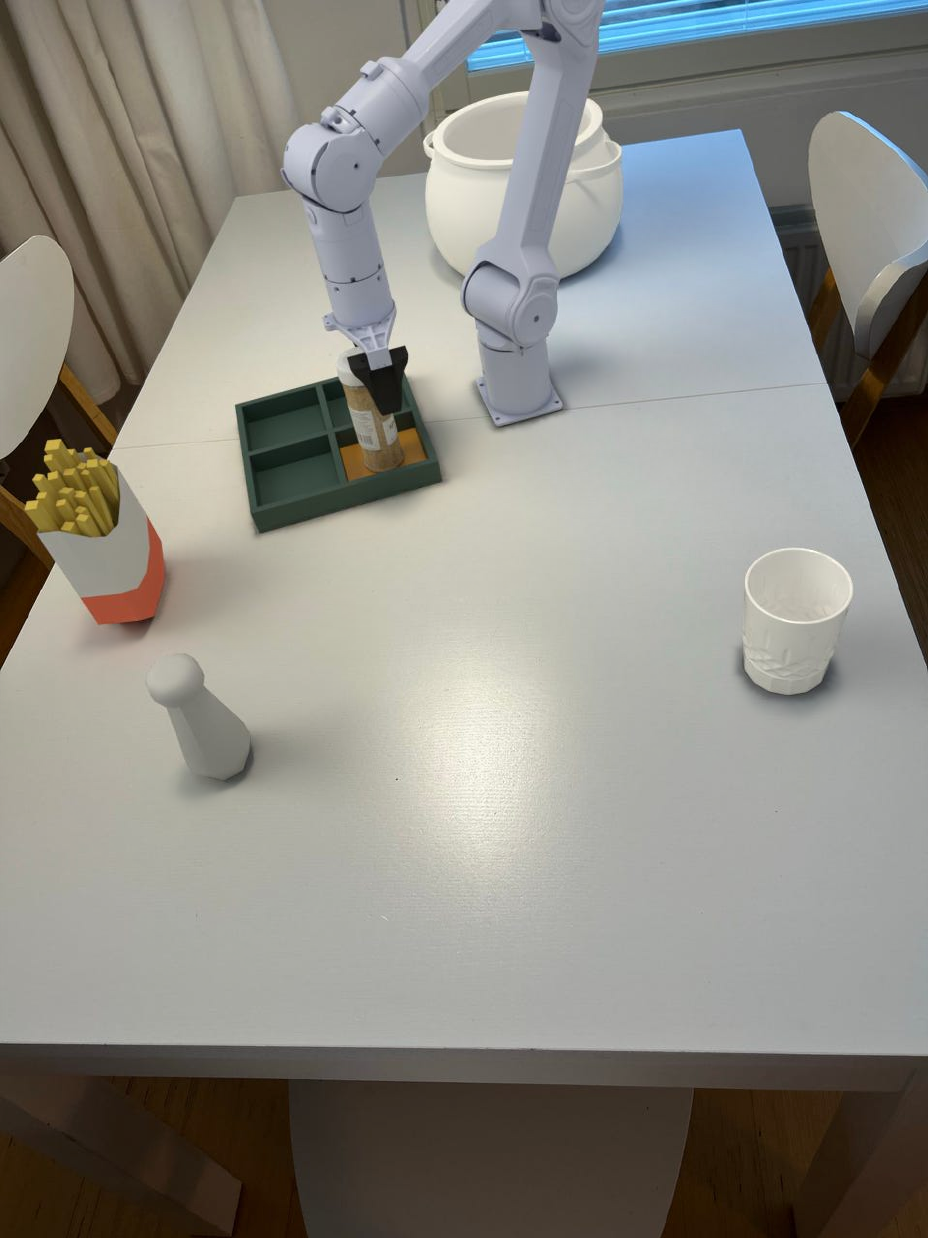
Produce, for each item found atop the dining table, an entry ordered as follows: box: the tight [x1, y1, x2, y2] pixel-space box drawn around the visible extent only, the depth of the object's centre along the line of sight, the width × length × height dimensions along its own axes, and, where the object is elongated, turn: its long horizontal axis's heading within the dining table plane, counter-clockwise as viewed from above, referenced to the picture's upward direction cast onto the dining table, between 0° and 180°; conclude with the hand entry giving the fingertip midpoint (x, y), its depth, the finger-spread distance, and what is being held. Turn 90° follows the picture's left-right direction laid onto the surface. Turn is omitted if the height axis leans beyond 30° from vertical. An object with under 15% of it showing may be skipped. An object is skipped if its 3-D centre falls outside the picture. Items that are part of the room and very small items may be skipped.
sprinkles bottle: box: [335, 346, 404, 473], centre depth 99 cm, size 5×5×14 cm
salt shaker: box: [144, 652, 252, 782], centre depth 77 cm, size 6×6×13 cm
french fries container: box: [24, 438, 166, 626], centre depth 90 cm, size 5×11×18 cm, turn 0°
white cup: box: [742, 547, 854, 696], centre depth 76 cm, size 8×8×10 cm
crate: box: [234, 371, 443, 534], centre depth 106 cm, size 20×20×3 cm
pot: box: [422, 90, 624, 280], centre depth 125 cm, size 29×26×16 cm
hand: (384, 390), depth 96 cm, fingers open, 7 cm apart
